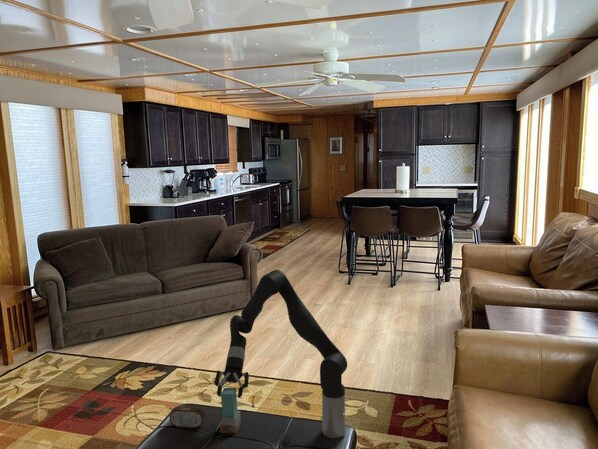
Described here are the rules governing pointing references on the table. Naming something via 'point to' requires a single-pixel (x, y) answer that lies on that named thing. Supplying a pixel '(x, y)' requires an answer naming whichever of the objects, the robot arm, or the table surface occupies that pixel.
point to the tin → (187, 417)
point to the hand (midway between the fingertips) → (229, 396)
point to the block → (229, 402)
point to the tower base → (229, 428)
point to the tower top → (231, 419)
